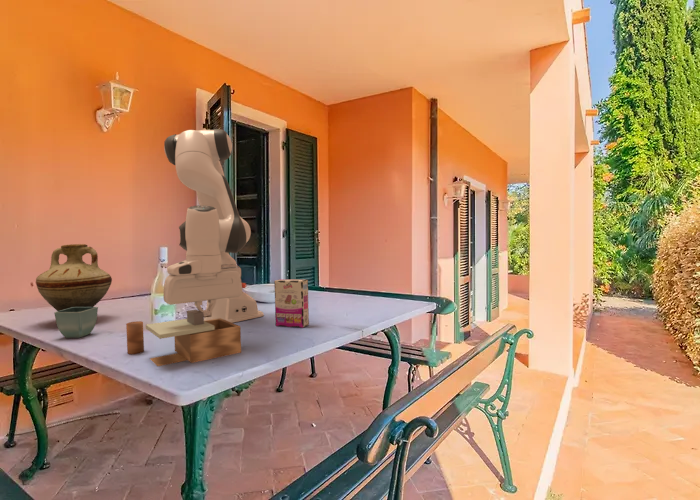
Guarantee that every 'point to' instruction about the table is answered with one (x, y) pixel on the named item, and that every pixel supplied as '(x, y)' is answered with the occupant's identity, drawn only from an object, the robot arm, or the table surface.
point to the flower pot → (76, 321)
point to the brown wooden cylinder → (135, 337)
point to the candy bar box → (291, 303)
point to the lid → (181, 326)
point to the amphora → (73, 279)
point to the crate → (205, 344)
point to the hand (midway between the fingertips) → (205, 316)
